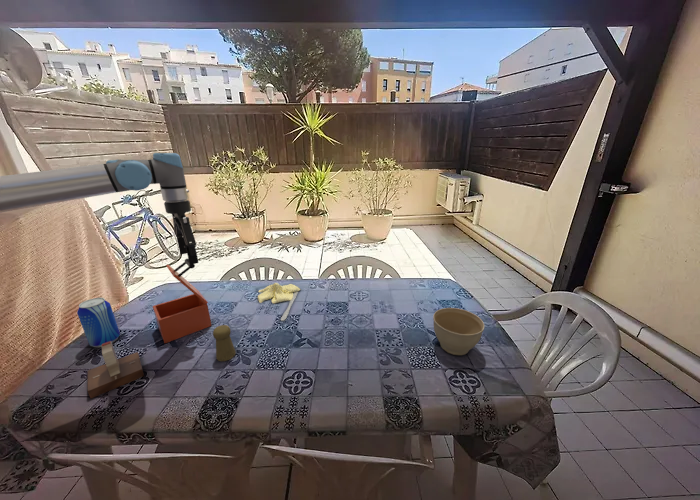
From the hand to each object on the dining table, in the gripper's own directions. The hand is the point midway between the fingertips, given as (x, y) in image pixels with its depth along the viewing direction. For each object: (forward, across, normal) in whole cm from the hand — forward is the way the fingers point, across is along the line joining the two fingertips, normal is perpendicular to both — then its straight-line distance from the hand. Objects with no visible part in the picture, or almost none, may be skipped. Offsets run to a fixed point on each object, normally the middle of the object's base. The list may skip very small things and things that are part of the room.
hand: (189, 258), depth 100 cm
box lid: (+10, 0, +3) cm, 10 cm away
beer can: (+27, +10, +29) cm, 41 cm away
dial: (+24, -15, +27) cm, 39 cm away
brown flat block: (+27, -15, +27) cm, 41 cm away
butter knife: (+27, -12, -33) cm, 45 cm away
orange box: (+27, 0, +6) cm, 28 cm away
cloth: (+27, +1, -32) cm, 42 cm away
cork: (+27, -27, 0) cm, 38 cm away
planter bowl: (+28, -76, -61) cm, 101 cm away
